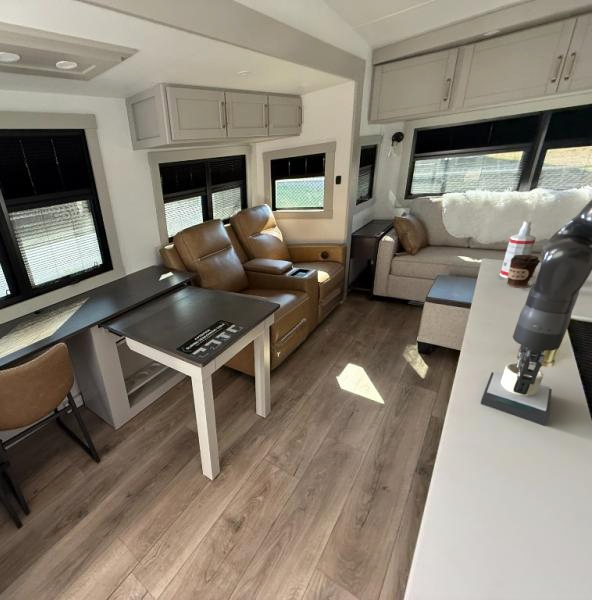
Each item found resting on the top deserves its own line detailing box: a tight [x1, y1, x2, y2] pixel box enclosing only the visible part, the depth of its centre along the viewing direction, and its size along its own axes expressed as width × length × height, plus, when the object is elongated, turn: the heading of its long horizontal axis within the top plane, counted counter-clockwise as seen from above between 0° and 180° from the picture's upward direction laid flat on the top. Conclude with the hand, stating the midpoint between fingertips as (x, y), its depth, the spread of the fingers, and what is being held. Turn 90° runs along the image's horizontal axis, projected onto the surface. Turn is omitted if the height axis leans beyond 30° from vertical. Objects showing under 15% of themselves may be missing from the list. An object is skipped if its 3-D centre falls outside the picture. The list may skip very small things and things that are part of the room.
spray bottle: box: [499, 220, 537, 279], centre depth 140 cm, size 8×8×25 cm
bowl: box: [501, 362, 545, 396], centre depth 77 cm, size 6×6×6 cm
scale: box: [480, 371, 553, 426], centre depth 78 cm, size 13×11×3 cm
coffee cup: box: [506, 254, 541, 289], centre depth 133 cm, size 9×8×13 cm
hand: (519, 384), depth 77 cm, fingers closed on bowl, 6 cm apart
